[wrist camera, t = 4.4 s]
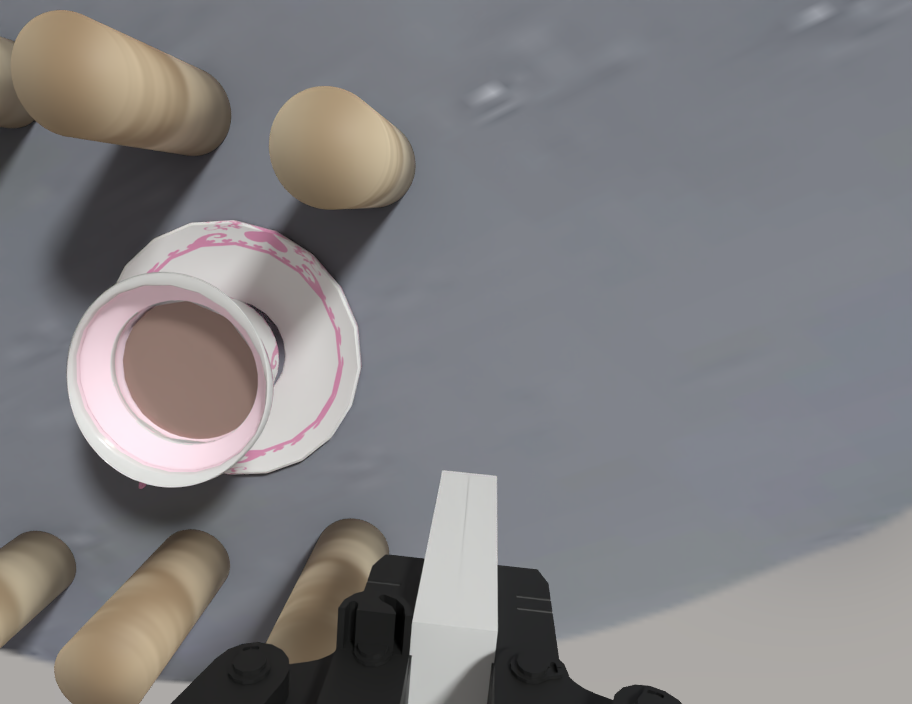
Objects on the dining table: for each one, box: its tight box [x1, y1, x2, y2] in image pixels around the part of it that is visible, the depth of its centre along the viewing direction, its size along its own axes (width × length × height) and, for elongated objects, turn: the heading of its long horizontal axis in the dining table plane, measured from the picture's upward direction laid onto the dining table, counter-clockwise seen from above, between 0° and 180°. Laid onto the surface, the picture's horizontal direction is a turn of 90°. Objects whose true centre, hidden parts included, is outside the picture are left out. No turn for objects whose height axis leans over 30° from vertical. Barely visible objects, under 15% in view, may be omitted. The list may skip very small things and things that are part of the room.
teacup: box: [66, 220, 362, 489], centre depth 27 cm, size 12×12×6 cm
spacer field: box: [0, 10, 415, 704], centre depth 26 cm, size 20×27×8 cm
